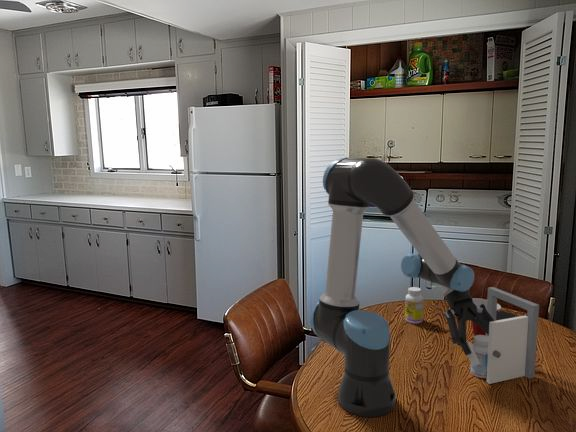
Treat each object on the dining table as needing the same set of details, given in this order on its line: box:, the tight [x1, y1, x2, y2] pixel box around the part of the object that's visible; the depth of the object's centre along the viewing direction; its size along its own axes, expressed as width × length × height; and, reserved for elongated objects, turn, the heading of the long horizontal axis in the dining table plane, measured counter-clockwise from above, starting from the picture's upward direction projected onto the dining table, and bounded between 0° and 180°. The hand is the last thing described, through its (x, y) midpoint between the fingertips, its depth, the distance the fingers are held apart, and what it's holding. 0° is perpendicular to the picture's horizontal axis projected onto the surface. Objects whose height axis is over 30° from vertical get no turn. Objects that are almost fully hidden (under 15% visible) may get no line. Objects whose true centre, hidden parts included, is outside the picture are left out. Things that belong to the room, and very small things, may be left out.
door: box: [486, 315, 528, 385], centre depth 126 cm, size 13×2×18 cm, turn 108°
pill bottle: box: [469, 335, 489, 379], centre depth 131 cm, size 6×6×11 cm
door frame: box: [486, 286, 540, 380], centre depth 135 cm, size 2×18×22 cm, turn 18°
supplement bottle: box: [404, 286, 424, 325], centre depth 171 cm, size 7×7×13 cm
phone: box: [496, 309, 518, 321], centre depth 172 cm, size 8×1×15 cm
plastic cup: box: [470, 297, 502, 337], centre depth 157 cm, size 11×11×12 cm
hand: (490, 362), depth 128 cm, fingers open, 9 cm apart
